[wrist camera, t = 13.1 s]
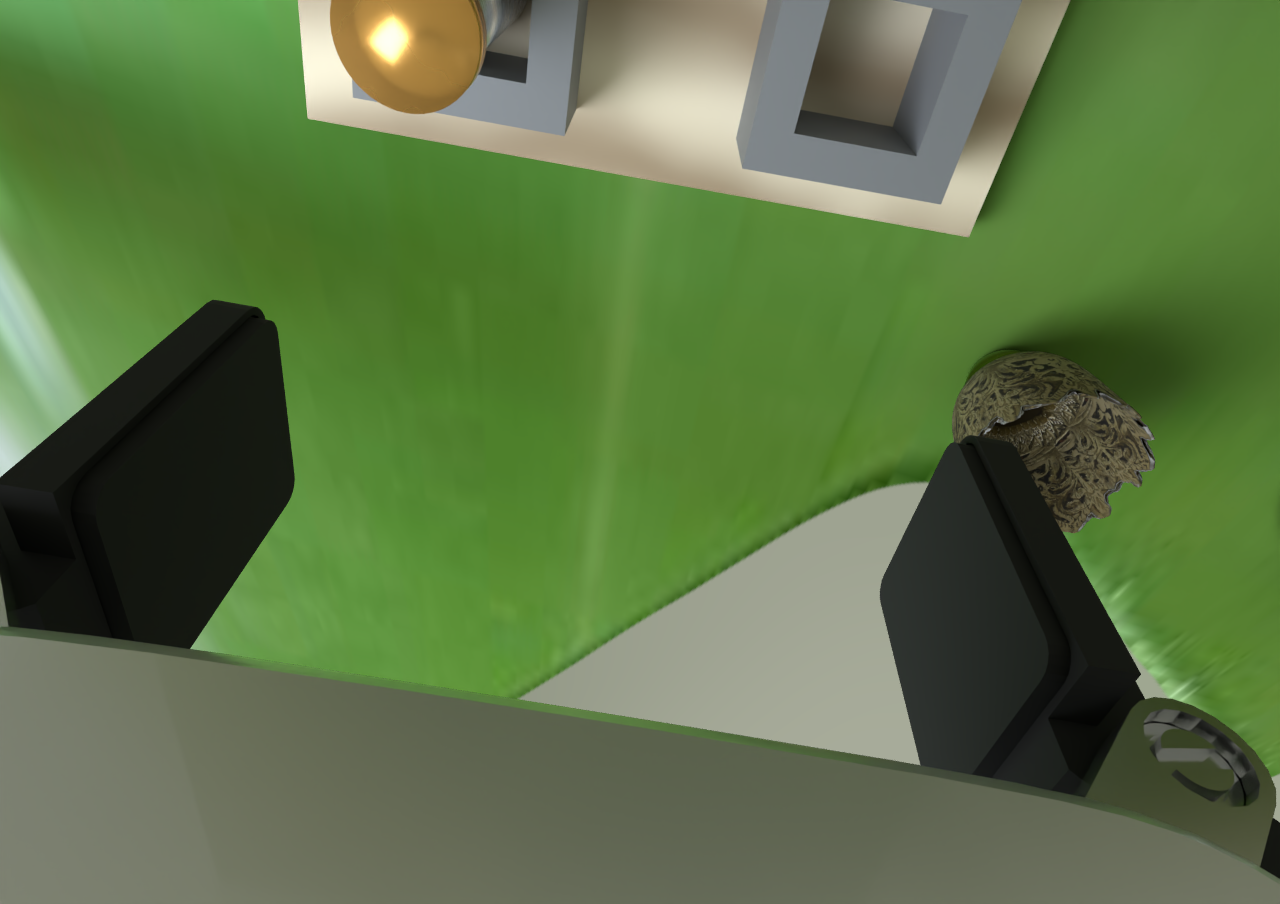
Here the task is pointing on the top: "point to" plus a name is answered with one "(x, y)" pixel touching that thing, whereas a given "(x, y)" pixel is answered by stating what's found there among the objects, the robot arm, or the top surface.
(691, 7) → the dock board
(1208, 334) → the top surface
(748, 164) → the lock mount
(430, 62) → the pin
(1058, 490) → the cup
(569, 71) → the dock socket
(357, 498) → the top surface
